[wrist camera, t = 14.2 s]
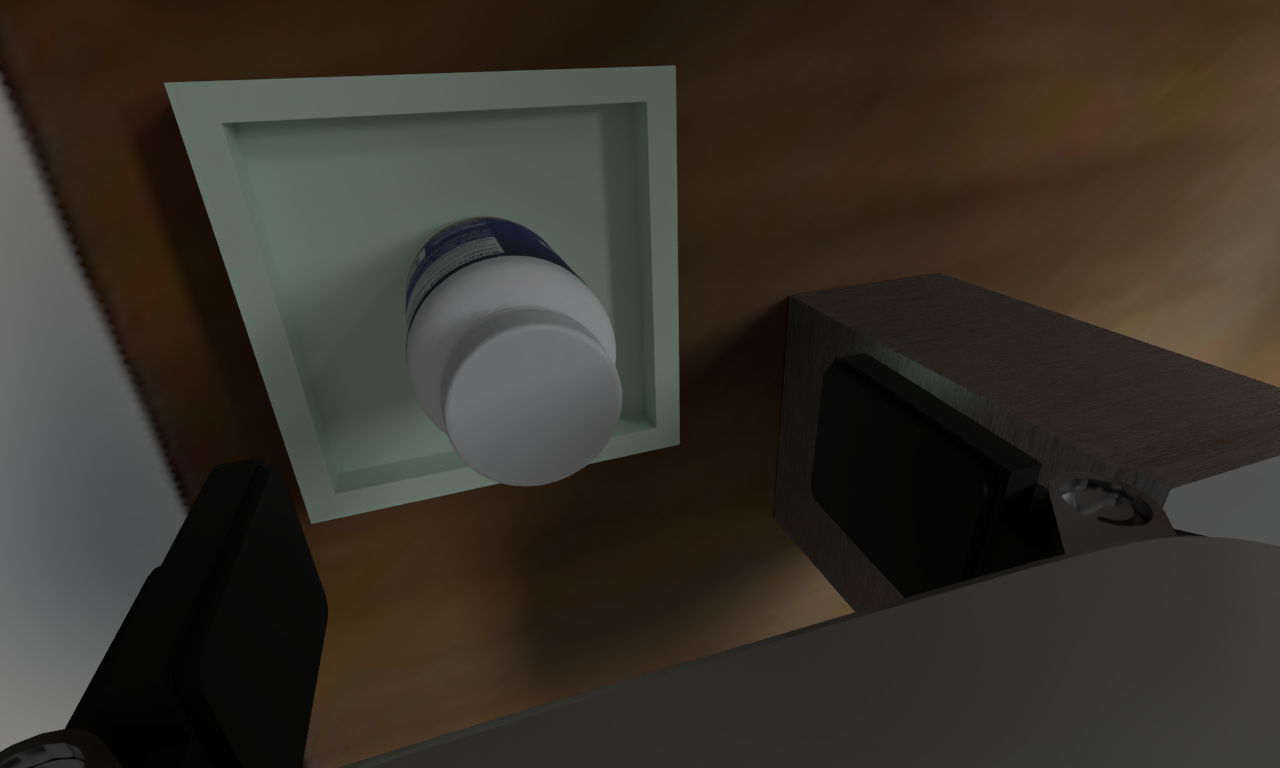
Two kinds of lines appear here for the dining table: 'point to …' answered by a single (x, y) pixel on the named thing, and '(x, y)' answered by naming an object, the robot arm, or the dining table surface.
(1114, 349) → the metal box
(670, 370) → the tray
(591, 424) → the pill bottle
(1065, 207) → the dining table surface
